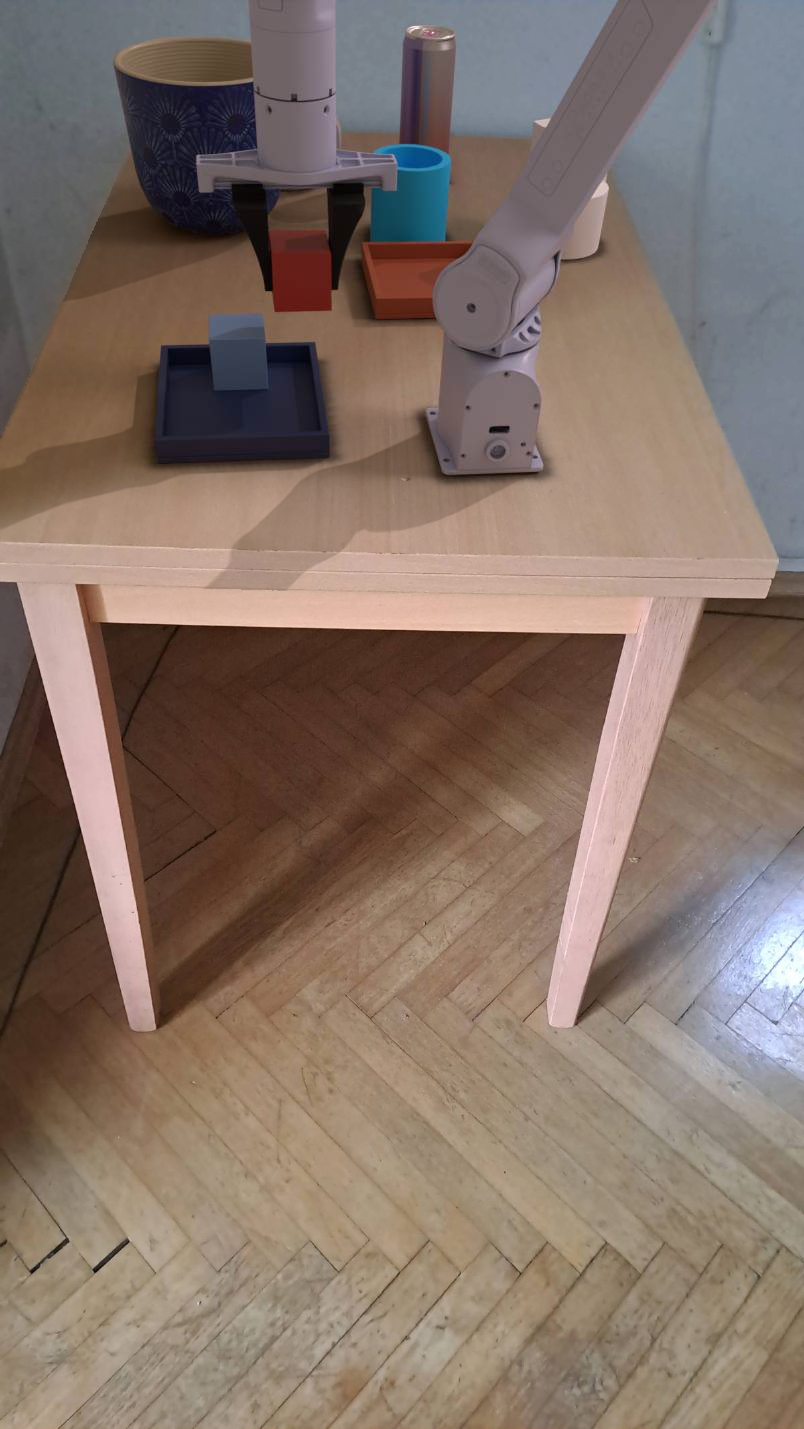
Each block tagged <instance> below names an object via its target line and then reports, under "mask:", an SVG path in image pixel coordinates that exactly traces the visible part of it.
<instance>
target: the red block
mask: <svg viewBox="0 0 804 1429" xmlns="http://www.w3.org/2000/svg"><path fill="white" fill-rule="evenodd" d="M268 232H269V252H270V259H271V267H272V281H273V291H271V295H272V303H273V310H274V313H290V312H291V313H295V312H297V313H298V312H299V313H300V312H302V313H303V312H330V311H331V312H332V310H333V304H332V302H333V301H332V299H333V298H332V290H331V251H330V247H329V242H328V234H327V230H326V229H288V230H285V229H284V230H283V229H282V230H268Z"/></svg>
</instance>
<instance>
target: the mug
mask: <svg viewBox="0 0 804 1429" xmlns="http://www.w3.org/2000/svg"><path fill="white" fill-rule="evenodd" d="M372 153H373V154H393V155H394V156H395V159H396V161H397V190H396V191H383V190H382V189H381V188H370V227H369V228H370V229H369V230H370V231H369V233H370V234H369V235H370V236H369V239H370V242H424V241H446V236H447V221H448V210H449V207H448V206H449V193H450V181H451V180H450V179H451V166H452V159H451V155H448V154H447V153H445V152H443V151H441V150H439V149H436V148H433V147H429V146H423V145H416V144H399V143H398V144H389V145H385V146H381V147H379V148H376V149H375V150H373V152H372Z"/></svg>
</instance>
